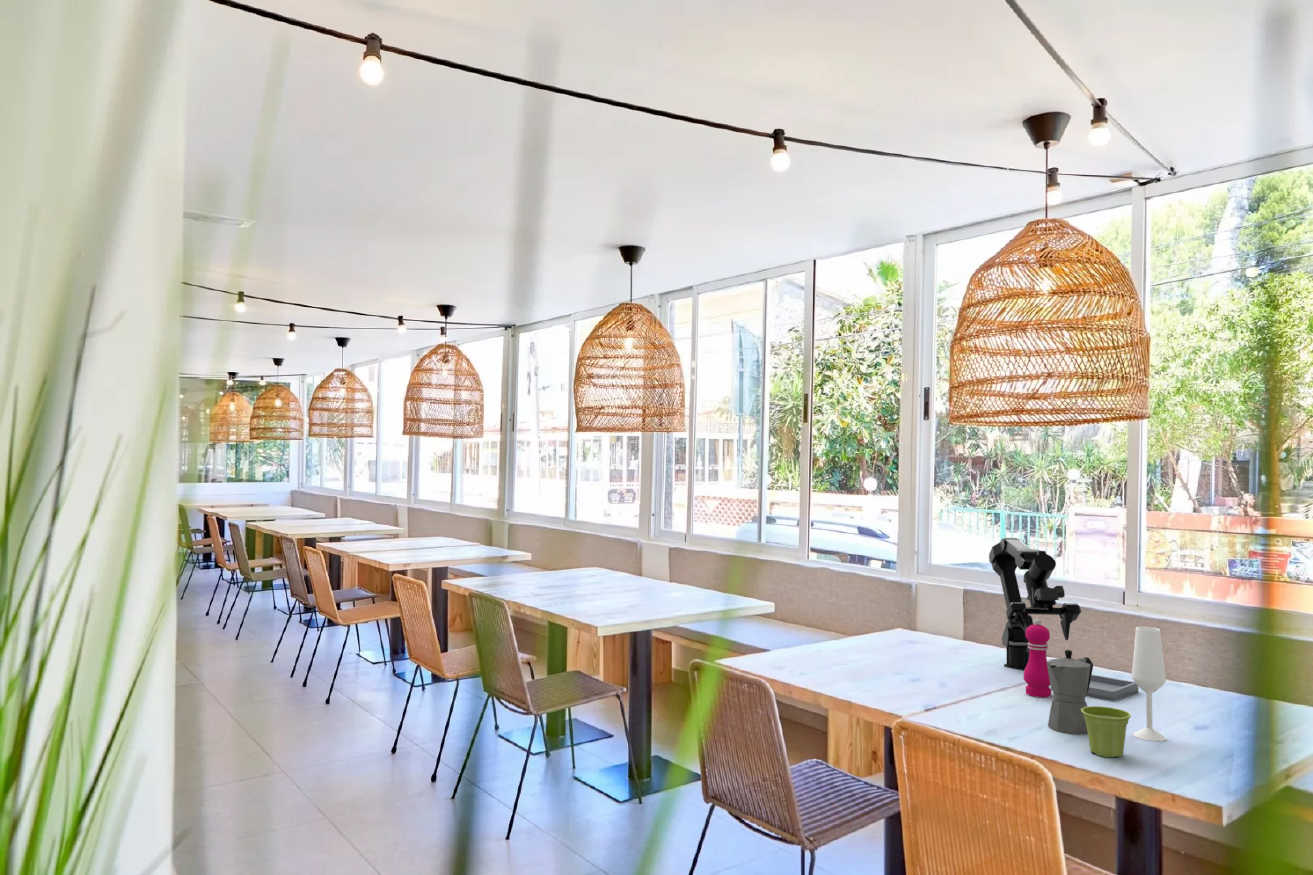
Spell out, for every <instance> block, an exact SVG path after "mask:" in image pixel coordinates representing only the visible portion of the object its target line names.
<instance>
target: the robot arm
mask: <svg viewBox="0 0 1313 875" xmlns="http://www.w3.org/2000/svg"><path fill="white" fill-rule="evenodd" d="M988 560H989V563H990V564H991V567H992V570H993V572H995V573H996V574H997V575H998V576H999V577H1000V579H999V580H1000V582H1001V588H1002V592H1003V597H1004V601H1005V606H1006V612H1005V614H1006V619H1007V621H1006V622H1005V627H1004V630H1003V633H1002V636H1001V644H1002V645H1003V646H1004V647H1006V648H1005V649H1006V650H1005V651H1006V652H1005V653H1006V663H1004V664H1003V666H1004V667H1007V666H1008V667H1007V668H1012V669H1013V668H1014V669H1018V668H1021V669H1020V670H1025V668H1026V666H1027V663H1028V661H1029V655H1030V652H1029V648H1028V642H1029V641H1028V639H1027V638H1026V634H1025V633H1026V629H1027V628H1028V627H1029V626H1031V625H1034V620H1033V617H1032V615H1043V616H1044V615H1047V616H1049V615H1050V616H1052V615H1054V616H1059V618H1060V621H1059V622H1060V623H1059V624H1060V627H1061V631H1062V633H1063V637H1064V639H1065V641H1068V640H1069V637H1070V630H1071V629H1070V628H1071V624H1072V623H1073V622H1074V621H1077V619H1078V617H1079V616H1080V615H1081V613H1082V608H1081V606H1080V605H1079V604H1078V603H1076V602H1075V603H1073V602H1068V603H1067V602H1064V603H1063V605H1062V606H1061V607H1054V606H1056V604H1057V601H1059V599H1063V598H1065V595H1066V593H1065V589H1064V585H1056V586H1054V587H1049V586H1048V582H1047V580H1049V579H1050V577H1051V576H1052V574H1053V571H1054V570H1055V569H1056V565H1057V561H1056V560H1055V558H1053V556H1051V555H1050V554H1047V553H1046V550H1042V549H1041V550H1040V549H1036V548H1034V549H1033V548H1029V547H1028V546H1027V545H1025V544H1024V543H1022V541H1021V540H1020V538H1017V537H1004V538H1001V540H1000V542H998V543H996V544H995V545H993V546H991V549H990V551H989V554H988ZM1017 568H1018V569H1019V570H1023V571H1025V570H1026V571H1025V572H1024V574H1023V583H1025V588H1026V591H1027V592H1026V593H1027V596H1026V600H1027V601H1029V605H1030V606H1027V605H1026V602H1022V601H1023V600H1022V596H1021V592H1020V589H1019V588H1020V587H1019V585H1018V579H1017V575H1016V570H1017Z"/></svg>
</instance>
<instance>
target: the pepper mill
mask: <svg viewBox="0 0 1313 875" xmlns="http://www.w3.org/2000/svg"><path fill="white" fill-rule="evenodd" d="M1050 633H1051V632H1050V630H1049V629H1048V628H1047V627H1046V626H1045V625H1042V621H1041V619H1039V618H1036V619H1034V620H1033V625H1031V626H1029V627H1028V628H1027V629H1026V633H1025V634H1026V638H1027V639H1028V641H1029V642H1028V648H1029V652H1030V655H1029V661H1028V663H1027V666H1026V668H1025V669H1023V670H1024V671H1023V680H1024V682H1025V684H1027V685H1025V694H1026V695H1027V694H1028V695H1027V696H1031V697H1033V698H1034V697H1036V698H1050V697H1051V696H1052V690H1051V685H1050V679H1049V673H1048V667H1047V661H1048V659H1047V650H1048V649H1049V647H1048V646H1049V644H1048V643H1047V642H1049V640H1050V638H1051V635H1050Z"/></svg>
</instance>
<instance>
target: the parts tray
mask: <svg viewBox="0 0 1313 875" xmlns="http://www.w3.org/2000/svg"><path fill="white" fill-rule="evenodd" d="M1137 693H1139V686H1138V685H1137V684H1136V683H1135V682H1134V681H1131V680H1125V679H1119V678H1114V677H1108V676H1103V675H1098V674H1097V675H1095V674H1092V675H1091V680H1090V685H1089V690H1088V692H1087V693H1086V694H1085V697H1088V698H1094V699H1099V700H1103V701H1109V702H1116V701H1118V700H1121V699H1124V698H1127V697H1130V696H1131V695H1134V694H1137Z"/></svg>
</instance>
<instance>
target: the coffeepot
mask: <svg viewBox="0 0 1313 875" xmlns="http://www.w3.org/2000/svg"><path fill="white" fill-rule="evenodd" d="M1064 654H1065V657H1060V658H1059V657H1058V658H1051V659H1049V660H1047V667H1048V673H1049V679H1050V689H1051V692H1053V698H1052V699H1051V704H1050V710H1049V717H1048V722H1047V727H1048V728H1050V730H1053V731H1055V732H1059V733H1062V734H1067V735H1068V734H1069V735H1088V732H1087V727H1086V721H1085V719H1084V715H1083V713H1082V712H1081V709H1082V708H1084V707H1088V704H1087V702H1086V696H1085V694H1086V693H1087V692H1088V690H1089V685H1090V680H1091V675H1093V670H1094V664H1093V662H1092V660H1091V659H1090V658H1089V657H1078V658H1072V656H1073V651H1072V650H1070V649H1065V650H1064Z"/></svg>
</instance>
